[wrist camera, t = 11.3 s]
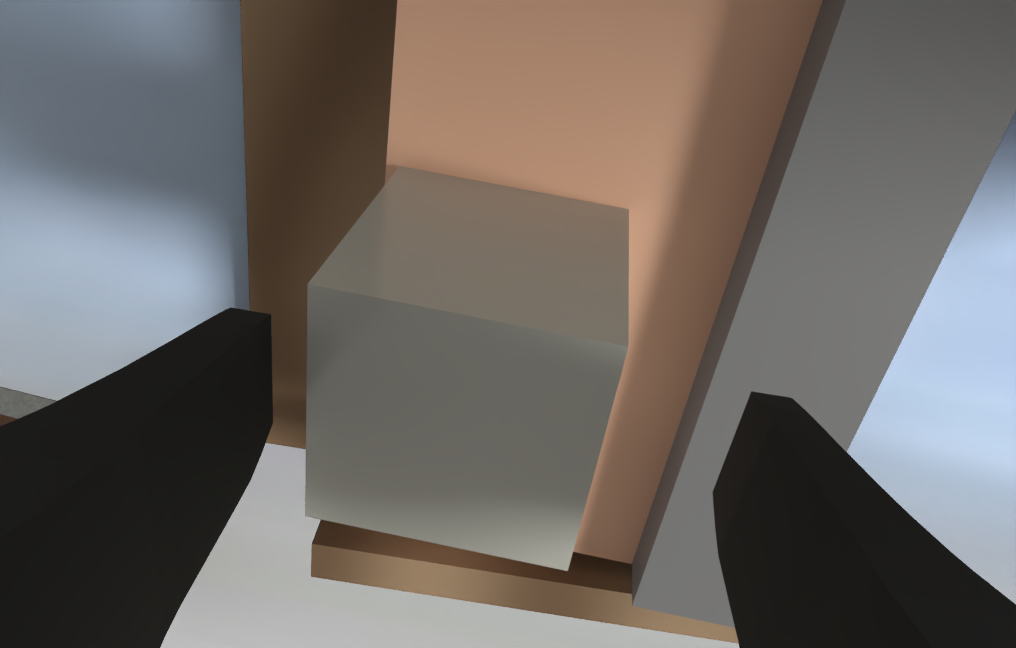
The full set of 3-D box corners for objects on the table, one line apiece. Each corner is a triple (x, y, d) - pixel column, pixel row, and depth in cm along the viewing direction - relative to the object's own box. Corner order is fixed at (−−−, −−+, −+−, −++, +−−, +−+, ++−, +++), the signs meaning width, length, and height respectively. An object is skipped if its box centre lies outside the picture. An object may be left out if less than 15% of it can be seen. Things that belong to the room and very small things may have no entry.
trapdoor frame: (1104, -152, 16) (1388, -159, 10) (792, 510, 26) (852, 686, 20) (245, -305, 16) (67, -396, 10) (262, 425, 26) (177, 581, 20)
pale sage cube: (629, 208, 15) (628, 346, 10) (583, 396, 17) (567, 571, 13) (400, 166, 15) (307, 283, 11) (385, 356, 17) (305, 516, 13)
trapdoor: (979, -19, 14) (1066, 9, 11) (740, 533, 21) (757, 632, 18) (431, -116, 14) (383, -113, 11) (382, 458, 21) (346, 545, 19)
